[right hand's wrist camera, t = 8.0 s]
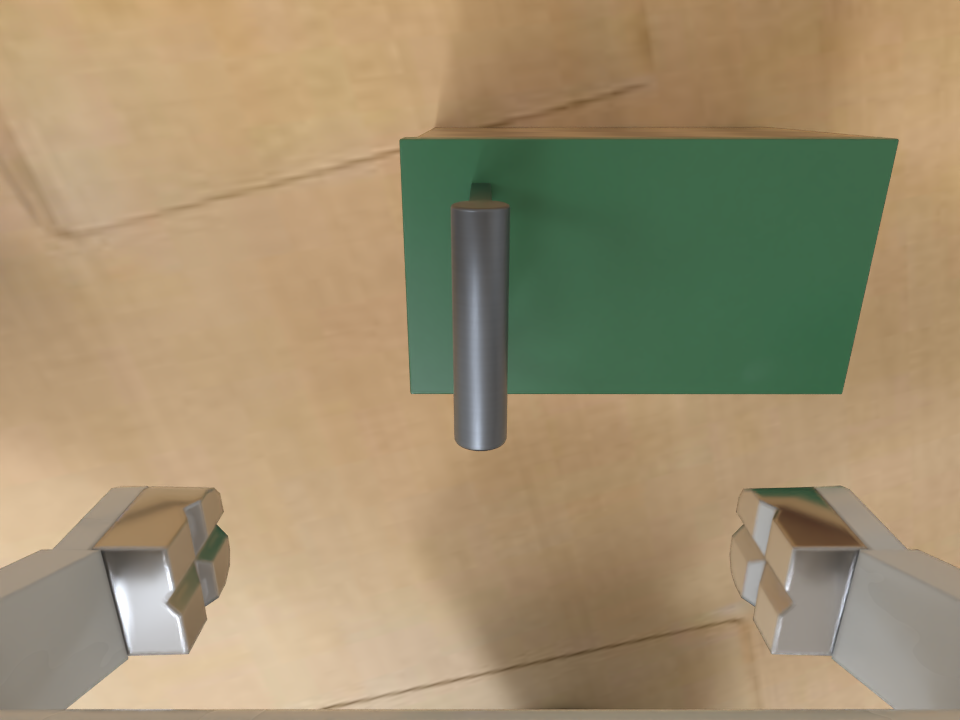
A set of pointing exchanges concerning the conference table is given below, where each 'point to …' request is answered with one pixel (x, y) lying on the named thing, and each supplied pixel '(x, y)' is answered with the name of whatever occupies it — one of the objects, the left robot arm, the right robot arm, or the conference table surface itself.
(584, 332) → the lid
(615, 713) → the right robot arm
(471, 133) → the chest
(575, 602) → the conference table surface
